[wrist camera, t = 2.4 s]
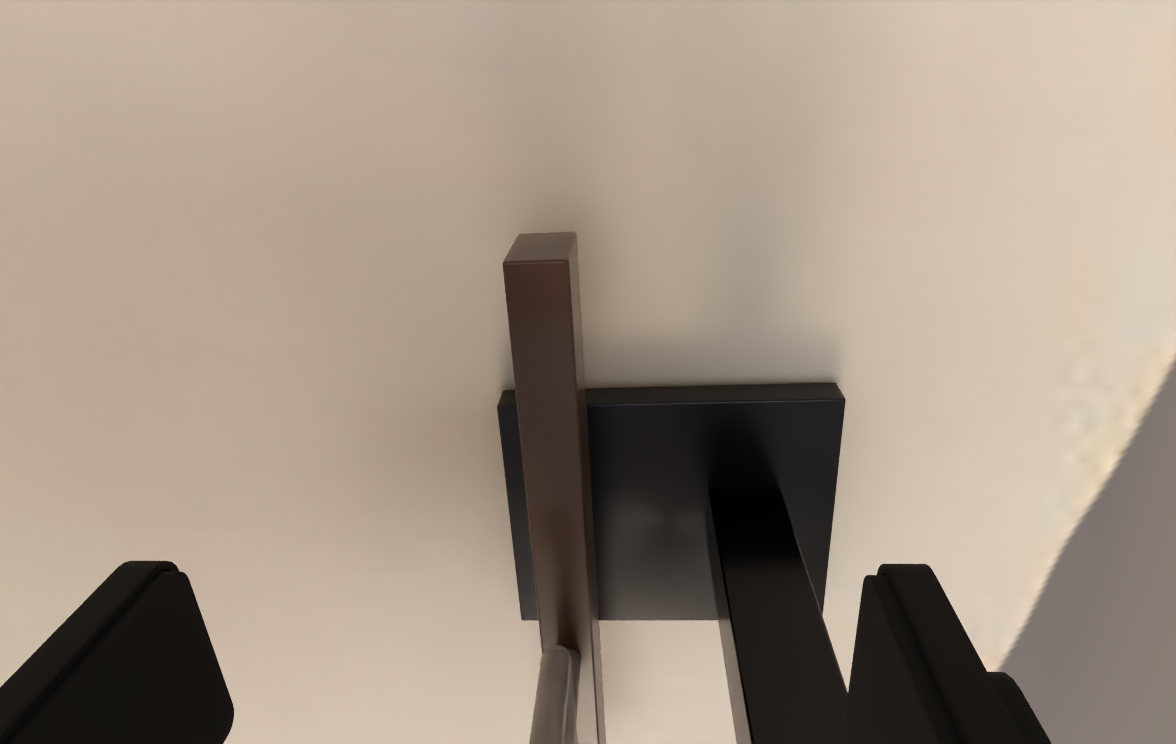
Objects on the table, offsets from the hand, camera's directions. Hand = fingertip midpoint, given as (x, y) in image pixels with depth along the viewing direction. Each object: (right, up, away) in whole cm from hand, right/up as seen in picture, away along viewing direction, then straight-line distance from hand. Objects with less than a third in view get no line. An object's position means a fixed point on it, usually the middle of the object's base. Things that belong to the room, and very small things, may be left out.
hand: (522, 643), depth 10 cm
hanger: (0, -3, +12) cm, 12 cm away
